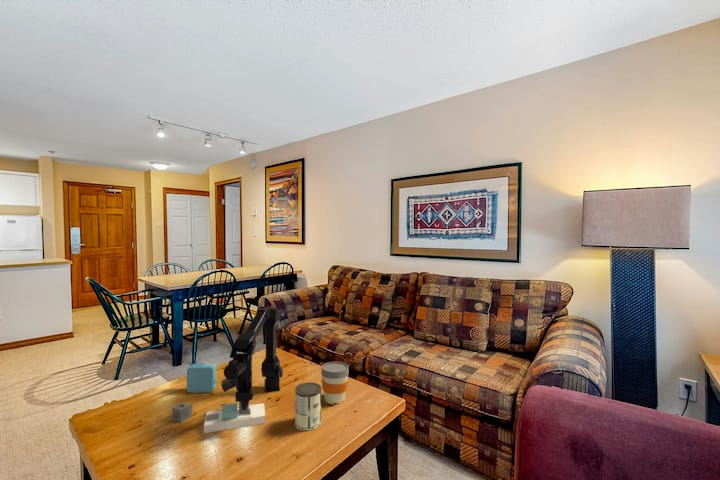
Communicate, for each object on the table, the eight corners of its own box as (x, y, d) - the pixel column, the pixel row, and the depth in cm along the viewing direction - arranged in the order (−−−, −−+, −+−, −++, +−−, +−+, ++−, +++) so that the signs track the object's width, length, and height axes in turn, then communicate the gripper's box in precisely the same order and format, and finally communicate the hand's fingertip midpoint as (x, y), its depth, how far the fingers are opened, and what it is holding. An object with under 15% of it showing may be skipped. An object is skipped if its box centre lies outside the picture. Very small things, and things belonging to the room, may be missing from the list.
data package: (216, 388, 158) (216, 363, 158) (212, 392, 154) (212, 367, 154) (190, 388, 158) (191, 363, 158) (186, 392, 153) (186, 367, 153)
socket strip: (263, 410, 139) (263, 402, 139) (265, 423, 130) (265, 414, 130) (206, 419, 132) (207, 410, 132) (204, 433, 123) (204, 424, 122)
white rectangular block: (248, 408, 134) (248, 392, 134) (248, 413, 131) (249, 397, 131) (238, 409, 133) (238, 393, 133) (238, 414, 129) (238, 398, 129)
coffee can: (302, 414, 137) (303, 380, 137) (325, 419, 134) (325, 384, 133) (289, 427, 127) (290, 391, 127) (313, 433, 124) (314, 396, 124)
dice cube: (183, 413, 136) (183, 401, 136) (191, 416, 134) (192, 404, 133) (172, 419, 131) (172, 407, 131) (180, 423, 129) (180, 410, 129)
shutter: (237, 408, 134) (237, 402, 134) (236, 417, 128) (236, 411, 128) (222, 410, 132) (222, 404, 132) (221, 420, 126) (221, 413, 126)
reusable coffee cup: (315, 403, 146) (316, 369, 146) (328, 390, 158) (329, 359, 157) (341, 409, 141) (341, 374, 141) (352, 396, 153) (353, 364, 153)
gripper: (224, 362, 138) (223, 399, 138) (221, 381, 120) (220, 424, 120) (252, 359, 141) (251, 395, 142) (253, 377, 124) (252, 418, 124)
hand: (244, 407), depth 132 cm, fingers closed on white rectangular block, 4 cm apart
